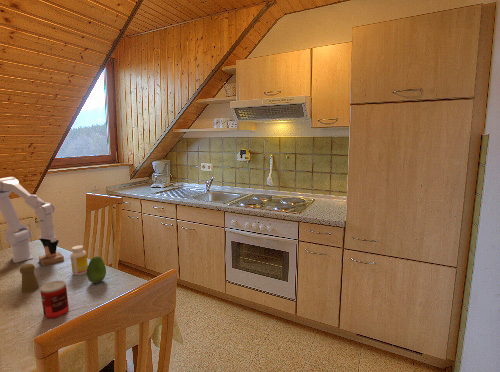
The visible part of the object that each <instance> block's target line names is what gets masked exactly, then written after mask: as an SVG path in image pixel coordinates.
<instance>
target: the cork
mask: <svg viewBox="0 0 500 372" xmlns="http://www.w3.org/2000/svg"><path fill="white" fill-rule="evenodd" d="M35 267H36V266H35V264H33V263H27V264H23V265H21V266H20V267H19V273H20V274H21V293H24V294H29V293H33V292H35V291H36V290H38V289H40V286H39V283H38V280H37V276H36V273H35V270H36V268H35Z"/></svg>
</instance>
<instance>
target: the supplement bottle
mask: <svg viewBox="0 0 500 372" xmlns="http://www.w3.org/2000/svg"><path fill="white" fill-rule="evenodd" d="M70 263H71V271H72V275H75V276H80V275H84V274H87V273H86V271H87V267H88V265H89V262H88V256H87V251H86V250H84V245H81V244H80V245H75V246H73V247H71V253H70Z"/></svg>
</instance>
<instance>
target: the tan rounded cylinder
mask: <svg viewBox="0 0 500 372" xmlns="http://www.w3.org/2000/svg"><path fill="white" fill-rule="evenodd" d="M44 248H45V249H44ZM43 249H44V255H46V258H52V257H55V256H56V253H55V254H52V255H51V254H50V251H49V248H48V246H45V247H44V246H43Z"/></svg>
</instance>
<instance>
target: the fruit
mask: <svg viewBox="0 0 500 372" xmlns="http://www.w3.org/2000/svg"><path fill="white" fill-rule="evenodd" d="M106 269H107V268H106V264H105V262H104V260H103V258H102V257H101V256H94V257H92V258H91V259H90V261H88V267H87V271H86V273H85V274H86V277H87V281H89V282H90V283H91V284H99V283H101V282H102V281H103V280H105V277H106V275H107V270H106Z"/></svg>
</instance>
